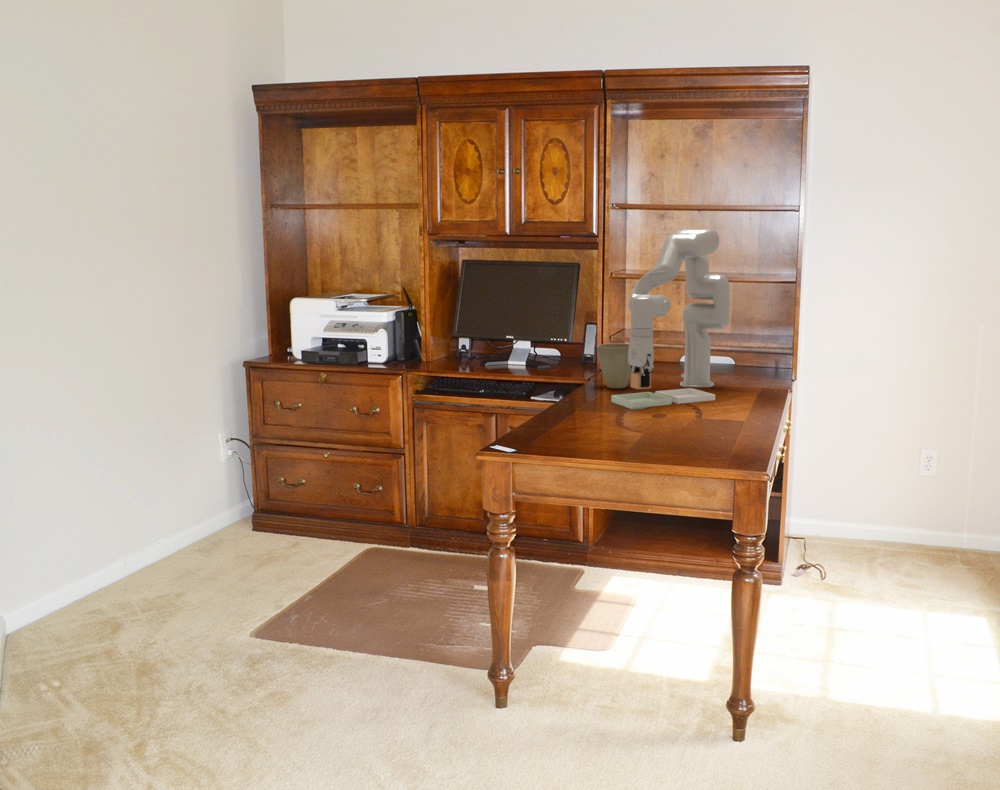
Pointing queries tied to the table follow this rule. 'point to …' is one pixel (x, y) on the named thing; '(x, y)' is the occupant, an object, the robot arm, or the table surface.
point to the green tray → (640, 400)
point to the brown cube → (637, 380)
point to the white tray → (686, 395)
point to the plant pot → (615, 364)
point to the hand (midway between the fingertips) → (640, 385)
